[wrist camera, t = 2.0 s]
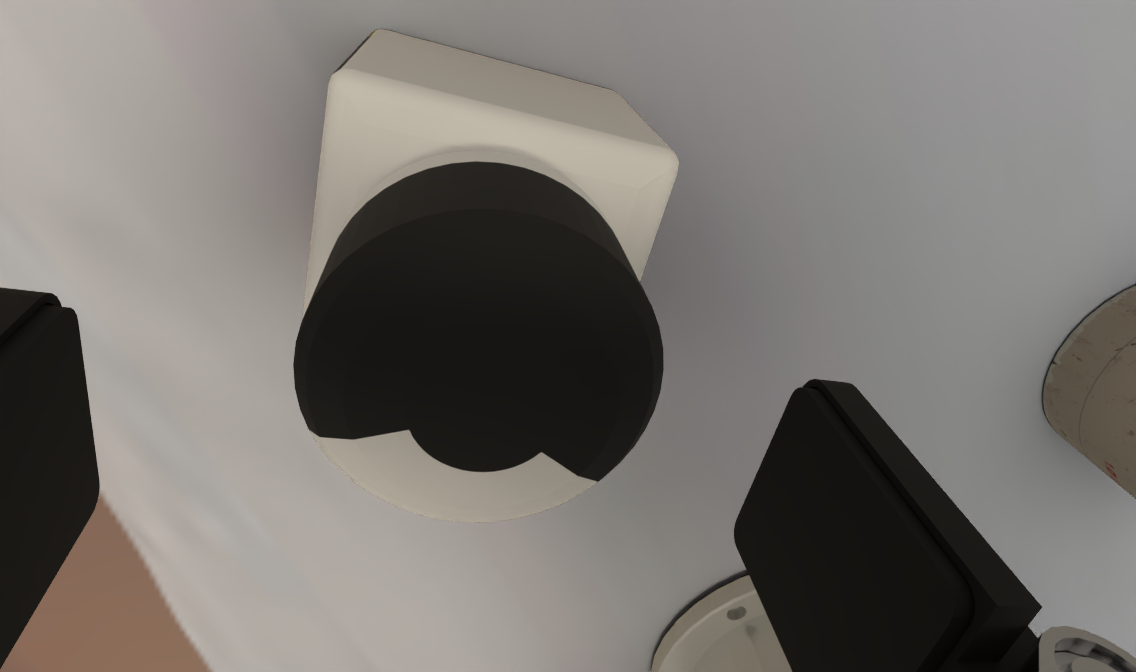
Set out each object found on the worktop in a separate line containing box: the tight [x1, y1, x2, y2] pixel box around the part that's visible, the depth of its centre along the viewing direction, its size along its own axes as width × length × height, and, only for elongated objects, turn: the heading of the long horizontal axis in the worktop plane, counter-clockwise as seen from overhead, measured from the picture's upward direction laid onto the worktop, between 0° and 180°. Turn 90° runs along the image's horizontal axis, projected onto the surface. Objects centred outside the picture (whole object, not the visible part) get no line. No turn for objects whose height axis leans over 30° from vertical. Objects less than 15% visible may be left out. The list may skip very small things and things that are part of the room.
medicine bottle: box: [294, 29, 679, 523], centre depth 16 cm, size 7×7×12 cm
